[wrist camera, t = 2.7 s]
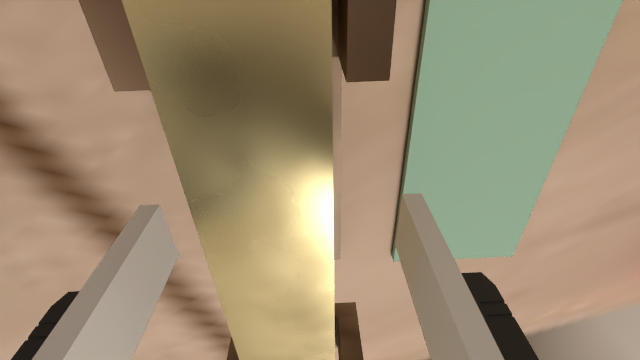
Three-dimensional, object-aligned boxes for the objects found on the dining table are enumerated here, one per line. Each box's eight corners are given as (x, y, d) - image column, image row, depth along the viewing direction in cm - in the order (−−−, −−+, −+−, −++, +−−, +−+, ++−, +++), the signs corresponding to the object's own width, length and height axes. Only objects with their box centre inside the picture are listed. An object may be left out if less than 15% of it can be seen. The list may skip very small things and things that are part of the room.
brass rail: (269, 365, 19) (262, 443, 16) (150, -156, 7) (19, -258, 4) (333, 362, 19) (338, 439, 16) (324, -163, 7) (337, -267, 4)
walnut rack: (264, 253, 27) (240, 413, 17) (203, -90, 15) (1, -195, 5) (341, 250, 27) (360, 408, 17) (344, -95, 15) (414, -209, 5)
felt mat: (392, 256, 27) (393, 261, 27) (443, -128, 14) (448, -131, 14) (508, 251, 27) (512, 256, 27) (669, -136, 14) (682, -140, 14)
